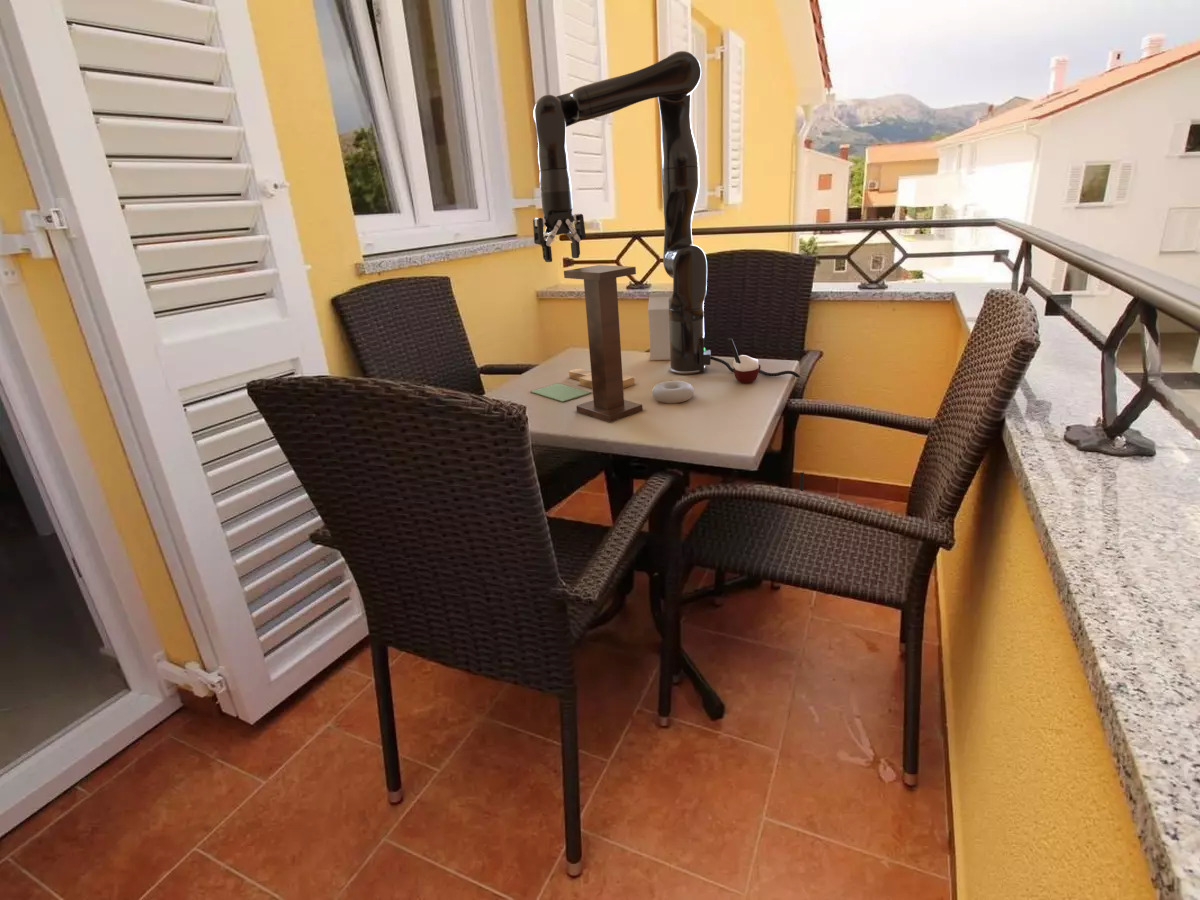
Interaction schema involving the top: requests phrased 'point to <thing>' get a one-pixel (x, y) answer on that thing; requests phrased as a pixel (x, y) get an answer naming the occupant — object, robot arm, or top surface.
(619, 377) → the stand
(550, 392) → the cloth
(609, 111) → the robot arm
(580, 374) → the paddle
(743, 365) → the cocoa
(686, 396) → the donut
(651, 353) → the milk carton
